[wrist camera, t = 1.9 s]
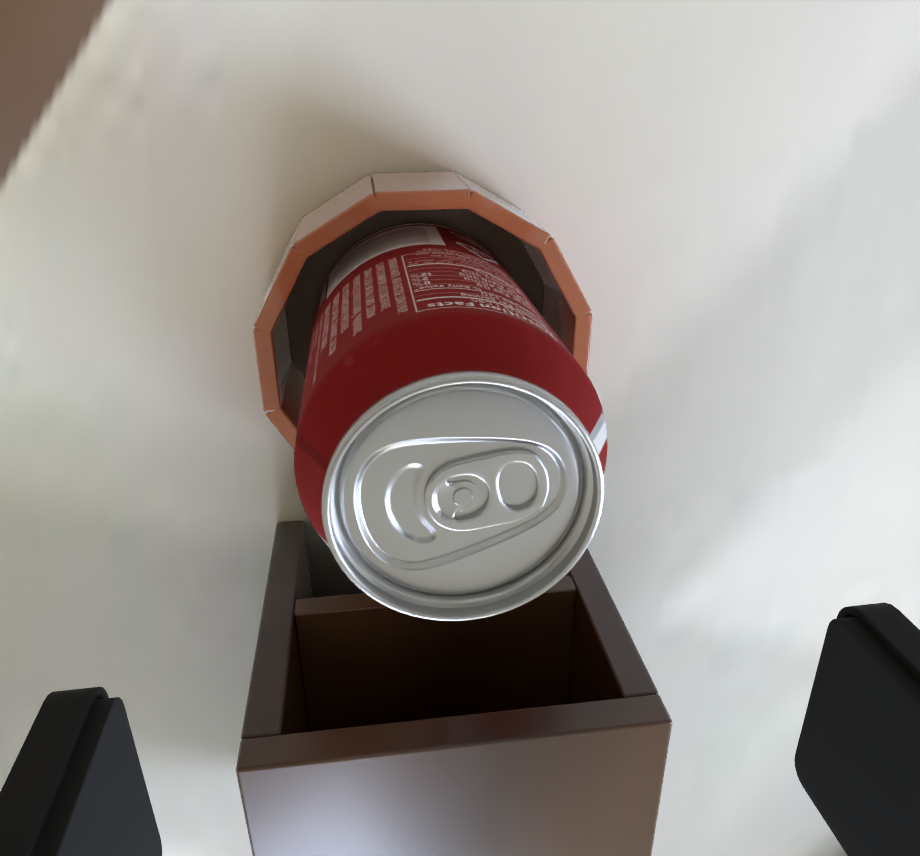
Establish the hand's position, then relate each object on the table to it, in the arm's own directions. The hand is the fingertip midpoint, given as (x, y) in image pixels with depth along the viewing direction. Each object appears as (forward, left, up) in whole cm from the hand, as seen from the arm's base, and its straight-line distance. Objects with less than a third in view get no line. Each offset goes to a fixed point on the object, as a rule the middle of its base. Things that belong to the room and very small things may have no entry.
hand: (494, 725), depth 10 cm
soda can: (0, 0, -17) cm, 17 cm away
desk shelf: (0, +14, -17) cm, 22 cm away
